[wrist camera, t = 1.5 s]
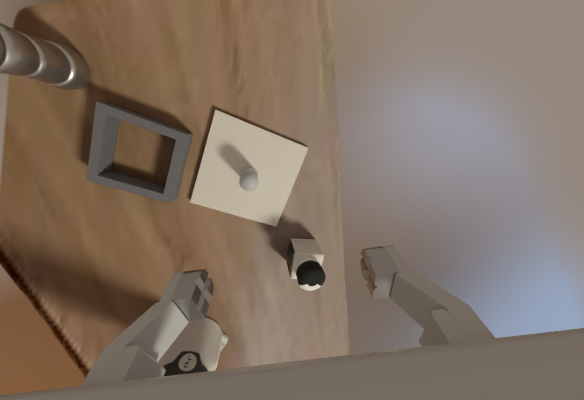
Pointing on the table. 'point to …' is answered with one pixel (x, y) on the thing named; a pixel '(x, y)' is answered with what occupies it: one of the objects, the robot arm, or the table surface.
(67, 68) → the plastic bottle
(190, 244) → the table surface
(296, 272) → the medicine bottle
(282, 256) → the table surface
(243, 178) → the post stand
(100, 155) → the grey rectangular frame
